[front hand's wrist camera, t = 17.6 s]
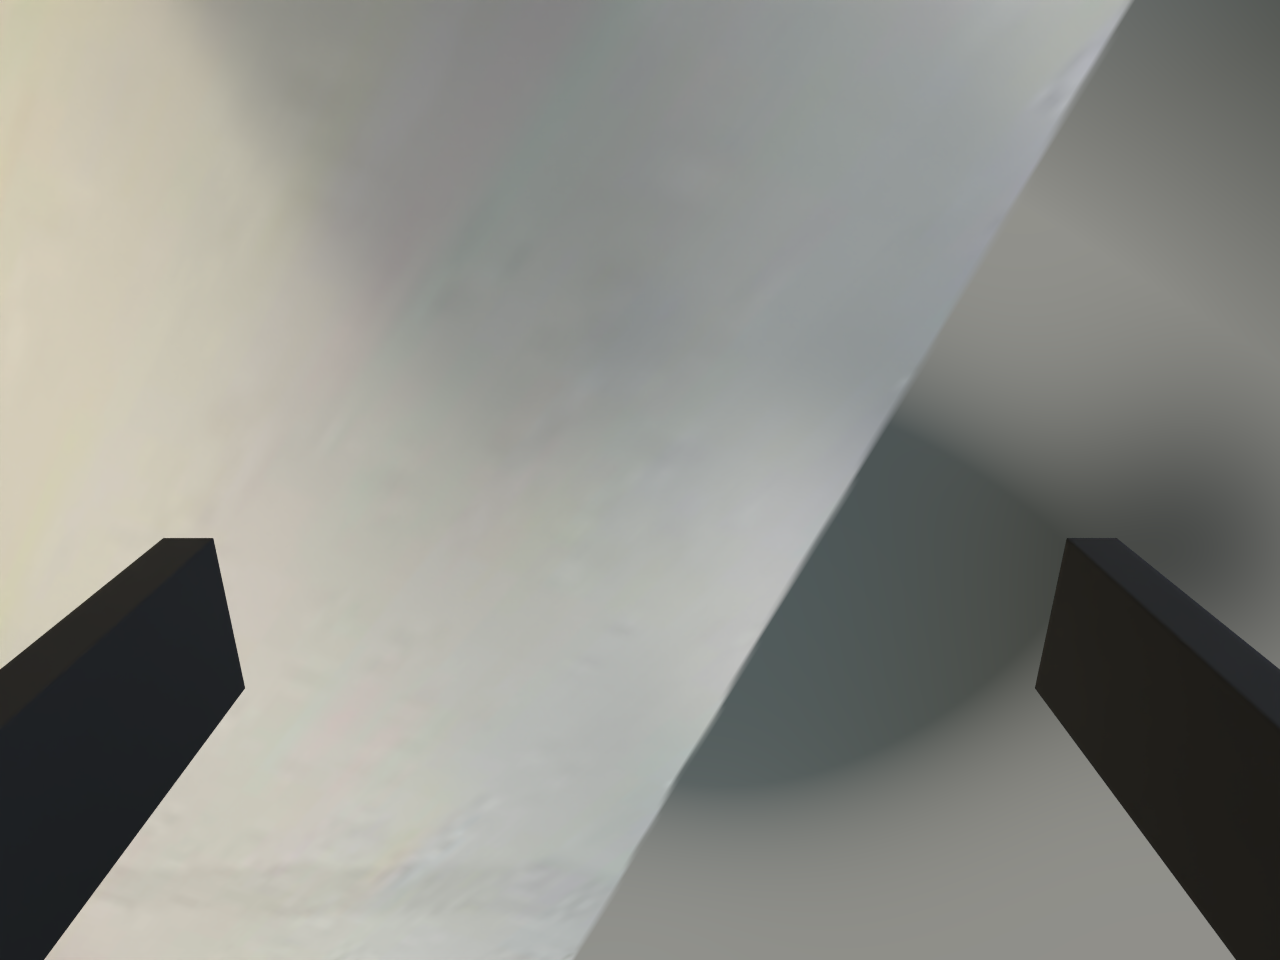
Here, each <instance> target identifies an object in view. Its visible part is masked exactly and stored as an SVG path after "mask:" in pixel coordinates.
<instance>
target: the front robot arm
mask: <svg viewBox="0 0 1280 960" xmlns="http://www.w3.org/2000/svg"><path fill="white" fill-rule="evenodd" d="M244 689H245V686H244V681H243V676H242V672H241V667H240V662H239V657H238V653H237V648H236V643H235V639H234V634H233V629H232V624H231V620H230V615H229V610H228V606H227V601H226V596H225V591H224V587H223V582H222V577H221V573H220V568H219V563H218V558H217V554H216V549H215V544H214V540H213V538H163V539H162V540H161V541H159V542H158V543H157V544H156V545H154V546H153V547H152V548H151V549H149V550H148V551H147V552H146V553H144V554H143V555H142V556H141V557H139V558H138V559H137V560H136V561H134V562H133V563H132V564H131V565H129V566H128V567H127V568H126V569H125V570H123V571H122V572H121V573H120V574H118V575H117V576H116V577H115V578H113V579H112V580H111V581H110V582H108V583H107V584H106V585H105V586H103V587H102V588H101V589H100V590H98V591H97V592H96V593H95V594H93V595H92V596H91V597H90V598H88V599H87V600H86V601H85V602H84V603H82V604H81V605H80V606H79V607H77V608H76V609H75V610H74V611H72V612H71V613H70V614H69V615H67V616H66V617H65V618H64V619H62V620H61V621H60V622H59V623H57V624H56V625H55V626H54V627H52V628H51V629H50V630H49V631H47V632H46V633H45V634H44V635H43V636H41V637H40V638H39V639H38V640H36V641H35V642H34V643H33V644H31V645H30V646H29V647H28V648H26V649H25V650H24V651H23V652H21V653H20V654H19V655H18V656H16V657H15V658H14V659H13V660H11V661H10V662H9V663H8V664H7V665H5V666H4V667H3V668H2V669H0V960H44V959H45V958H46V956H47V955H48V954H49V952H50V951H51V950H52V948H53V947H54V945H55V944H56V943H57V941H58V940H59V939H60V937H61V936H62V935H63V933H64V932H65V931H66V929H67V928H68V927H69V925H70V924H71V923H72V921H73V920H74V918H75V917H76V916H77V914H78V913H79V912H80V910H81V909H82V908H83V906H84V905H85V904H86V902H87V901H88V900H89V898H90V897H91V895H92V894H93V893H94V891H95V890H96V889H97V887H98V886H99V885H100V883H101V882H102V881H103V879H104V878H105V877H106V875H107V874H108V873H109V871H110V870H111V868H112V867H113V866H114V864H115V863H116V862H117V860H118V859H119V858H120V856H121V855H122V854H123V852H124V851H125V850H126V848H127V847H128V846H129V844H130V843H131V841H132V840H133V839H134V837H135V836H136V835H137V833H138V832H139V831H140V829H141V828H142V827H143V825H144V824H145V823H146V821H147V820H148V818H149V817H150V816H151V814H152V813H153V812H154V810H155V809H156V808H157V806H158V805H159V804H160V802H161V801H162V800H163V798H164V797H165V796H166V794H167V793H168V791H169V790H170V789H171V787H172V786H173V785H174V783H175V782H176V781H177V779H178V778H179V777H180V775H181V774H182V773H183V771H184V770H185V769H186V767H187V766H188V764H189V763H190V762H191V760H192V759H193V758H194V756H195V755H196V754H197V752H198V751H199V750H200V748H201V747H202V746H203V744H204V743H205V742H206V740H207V739H208V737H209V736H210V735H211V733H212V732H213V731H214V729H215V728H216V727H217V725H218V724H219V723H220V721H221V720H222V719H223V717H224V716H225V714H226V713H227V712H228V710H229V709H230V708H231V706H232V705H233V704H234V702H235V701H236V700H237V698H238V697H239V696H240V694H241V693H242V692H243V690H244ZM1035 689H1036V690H1037V692H1038V693H1039V694H1040V696H1041V697H1042V698H1043V700H1044V701H1045V702H1046V704H1047V705H1048V706H1049V708H1050V709H1051V710H1052V712H1053V713H1054V714H1055V716H1056V717H1057V719H1058V720H1059V721H1060V723H1061V724H1062V725H1063V727H1064V728H1065V729H1066V731H1067V732H1068V733H1069V735H1070V736H1071V737H1072V739H1073V740H1074V741H1075V743H1076V744H1077V746H1078V747H1079V748H1080V750H1081V751H1082V752H1083V754H1084V755H1085V756H1086V758H1087V759H1088V760H1089V762H1090V763H1091V764H1092V766H1093V767H1094V768H1095V770H1096V771H1097V773H1098V774H1099V775H1100V777H1101V778H1102V779H1103V781H1104V782H1105V783H1106V785H1107V786H1108V787H1109V789H1110V790H1111V791H1112V793H1113V794H1114V796H1115V797H1116V798H1117V800H1118V801H1119V802H1120V804H1121V805H1122V806H1123V808H1124V809H1125V810H1126V812H1127V813H1128V814H1129V816H1130V817H1131V818H1132V820H1133V821H1134V823H1135V824H1136V825H1137V827H1138V828H1139V829H1140V831H1141V832H1142V833H1143V835H1144V836H1145V837H1146V839H1147V840H1148V841H1149V843H1150V844H1151V846H1152V847H1153V848H1154V850H1155V851H1156V852H1157V854H1158V855H1159V856H1160V858H1161V859H1162V860H1163V862H1164V863H1165V864H1166V866H1167V867H1168V868H1169V870H1170V871H1171V873H1172V874H1173V875H1174V877H1175V878H1176V879H1177V881H1178V882H1179V883H1180V885H1181V886H1182V887H1183V889H1184V890H1185V891H1186V893H1187V894H1188V895H1189V897H1190V898H1191V899H1192V901H1193V902H1194V904H1195V905H1196V906H1197V908H1198V909H1199V910H1200V912H1201V913H1202V914H1203V916H1204V917H1205V918H1206V920H1207V921H1208V923H1209V924H1210V925H1211V927H1212V928H1213V929H1214V931H1215V932H1216V933H1217V935H1218V936H1219V937H1220V939H1221V940H1222V941H1223V943H1224V944H1225V945H1226V947H1227V948H1228V949H1229V951H1230V952H1231V954H1232V955H1233V956H1234V958H1235V959H1236V960H1280V669H1278V668H1277V667H1276V666H1275V665H1273V664H1272V663H1271V662H1270V661H1269V660H1267V659H1266V658H1265V657H1263V656H1262V655H1261V654H1260V653H1259V652H1257V651H1256V650H1255V649H1254V648H1252V647H1251V646H1250V645H1249V644H1247V643H1246V642H1245V641H1244V640H1242V639H1241V638H1240V637H1239V636H1237V635H1236V634H1235V633H1234V632H1232V631H1231V630H1230V629H1229V628H1228V627H1226V626H1225V625H1224V624H1223V623H1221V622H1220V621H1219V620H1218V619H1216V618H1215V617H1214V616H1213V615H1211V614H1210V613H1209V612H1208V611H1206V610H1205V609H1204V608H1203V607H1201V606H1200V605H1199V604H1198V603H1196V602H1195V601H1194V600H1193V599H1191V598H1190V597H1189V596H1188V595H1187V594H1185V593H1184V592H1183V591H1182V590H1180V589H1179V588H1178V587H1177V586H1175V585H1174V584H1173V583H1172V582H1170V581H1169V580H1168V579H1166V578H1165V577H1164V576H1163V575H1162V574H1160V573H1159V572H1158V571H1157V570H1155V569H1154V568H1153V567H1152V566H1151V565H1149V564H1148V563H1147V562H1146V561H1144V560H1143V559H1142V558H1141V557H1139V556H1138V555H1137V554H1136V553H1134V552H1133V551H1132V550H1131V549H1129V548H1128V547H1127V546H1126V545H1124V544H1123V543H1122V542H1121V541H1119V540H1118V539H1117V538H1067V540H1066V544H1065V549H1064V554H1063V559H1062V563H1061V568H1060V573H1059V577H1058V582H1057V587H1056V592H1055V596H1054V601H1053V606H1052V610H1051V615H1050V620H1049V625H1048V629H1047V634H1046V639H1045V643H1044V648H1043V653H1042V657H1041V662H1040V667H1039V672H1038V676H1037V681H1036V686H1035Z"/></svg>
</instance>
